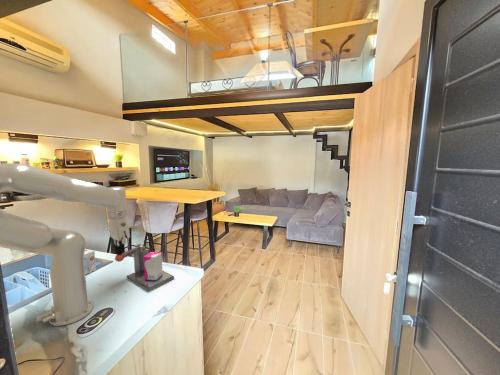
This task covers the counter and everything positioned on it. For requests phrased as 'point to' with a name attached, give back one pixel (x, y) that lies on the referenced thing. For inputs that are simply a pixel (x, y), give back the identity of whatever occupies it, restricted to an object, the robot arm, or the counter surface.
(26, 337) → the counter surface
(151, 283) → the press bed
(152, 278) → the supplement box
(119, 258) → the press lever
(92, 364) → the counter surface
